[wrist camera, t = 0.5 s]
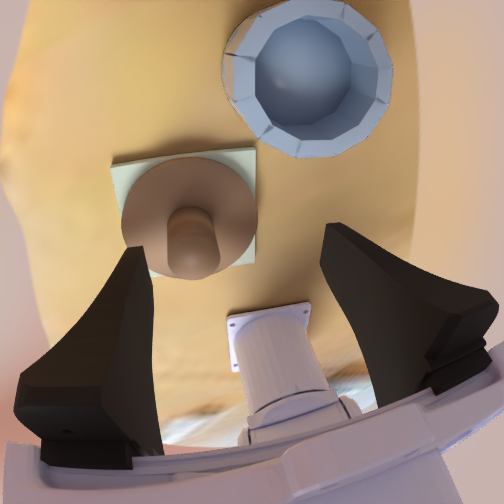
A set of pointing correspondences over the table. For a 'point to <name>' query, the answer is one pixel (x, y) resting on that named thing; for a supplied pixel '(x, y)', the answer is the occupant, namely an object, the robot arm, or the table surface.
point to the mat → (233, 158)
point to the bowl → (308, 76)
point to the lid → (190, 217)
